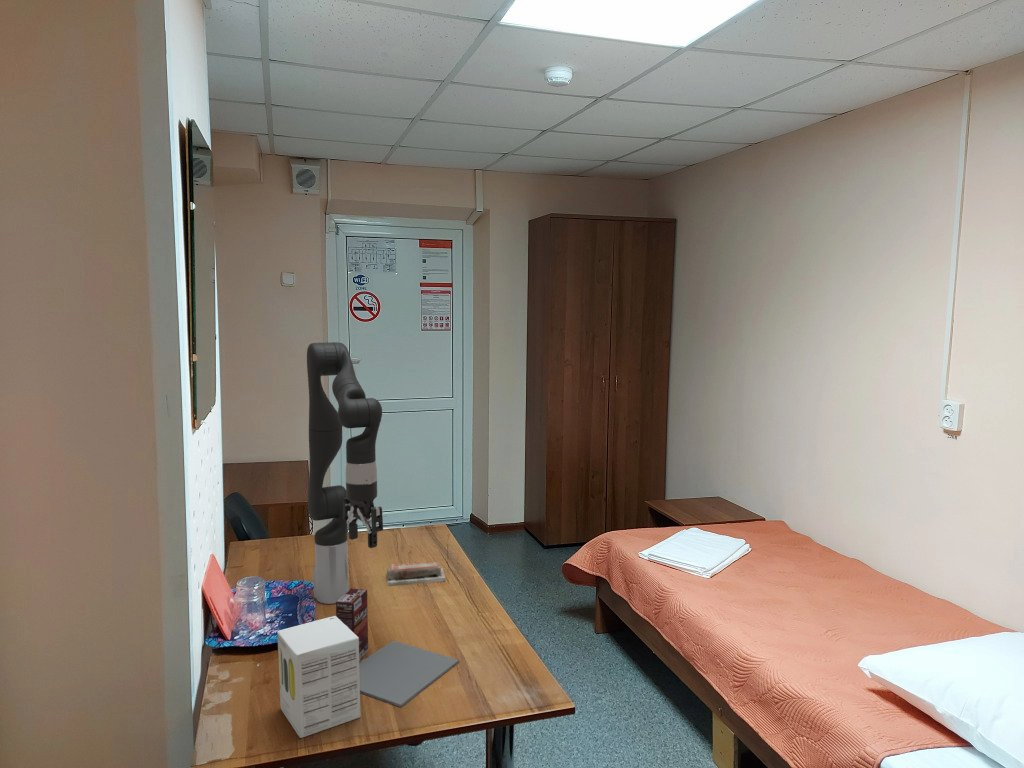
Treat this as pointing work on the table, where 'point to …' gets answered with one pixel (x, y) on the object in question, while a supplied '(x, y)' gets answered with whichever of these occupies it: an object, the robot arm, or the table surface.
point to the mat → (401, 672)
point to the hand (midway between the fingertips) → (362, 542)
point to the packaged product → (414, 573)
